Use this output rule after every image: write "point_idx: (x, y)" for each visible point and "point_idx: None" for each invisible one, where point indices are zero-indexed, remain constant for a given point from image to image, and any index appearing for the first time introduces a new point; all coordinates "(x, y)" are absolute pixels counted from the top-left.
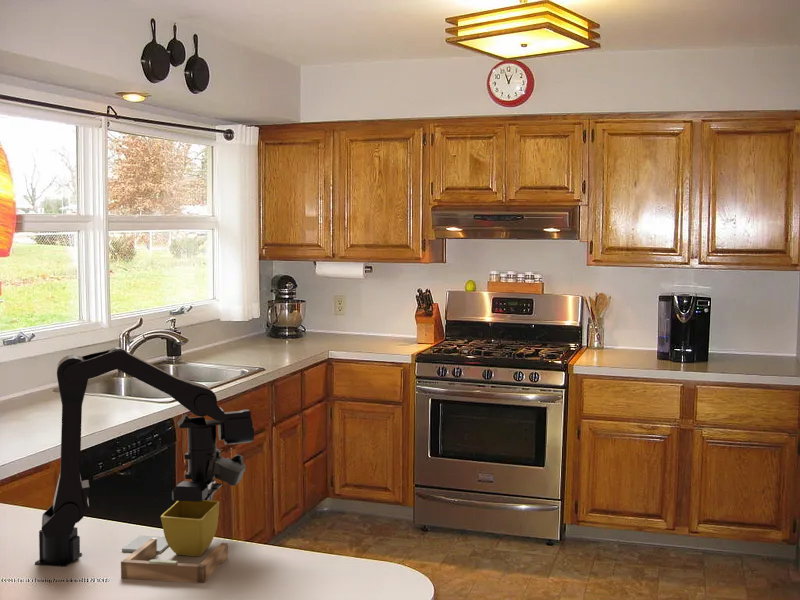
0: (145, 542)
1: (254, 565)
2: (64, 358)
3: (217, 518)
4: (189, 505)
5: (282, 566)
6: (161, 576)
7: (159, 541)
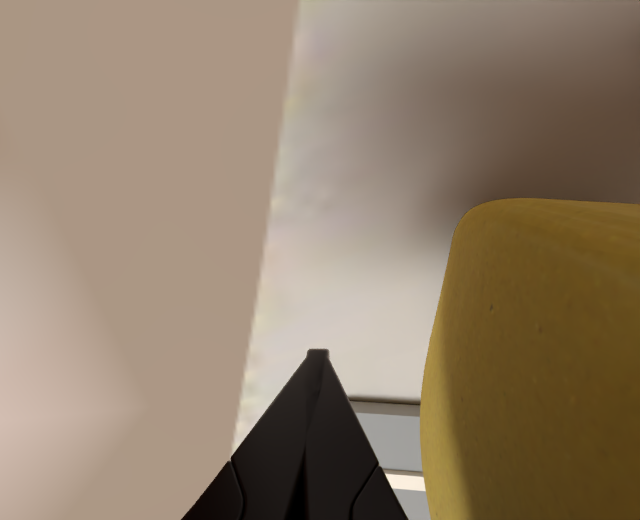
0: (420, 492)
1: None
2: None
3: (622, 212)
4: None
5: None
6: None
7: (402, 454)
